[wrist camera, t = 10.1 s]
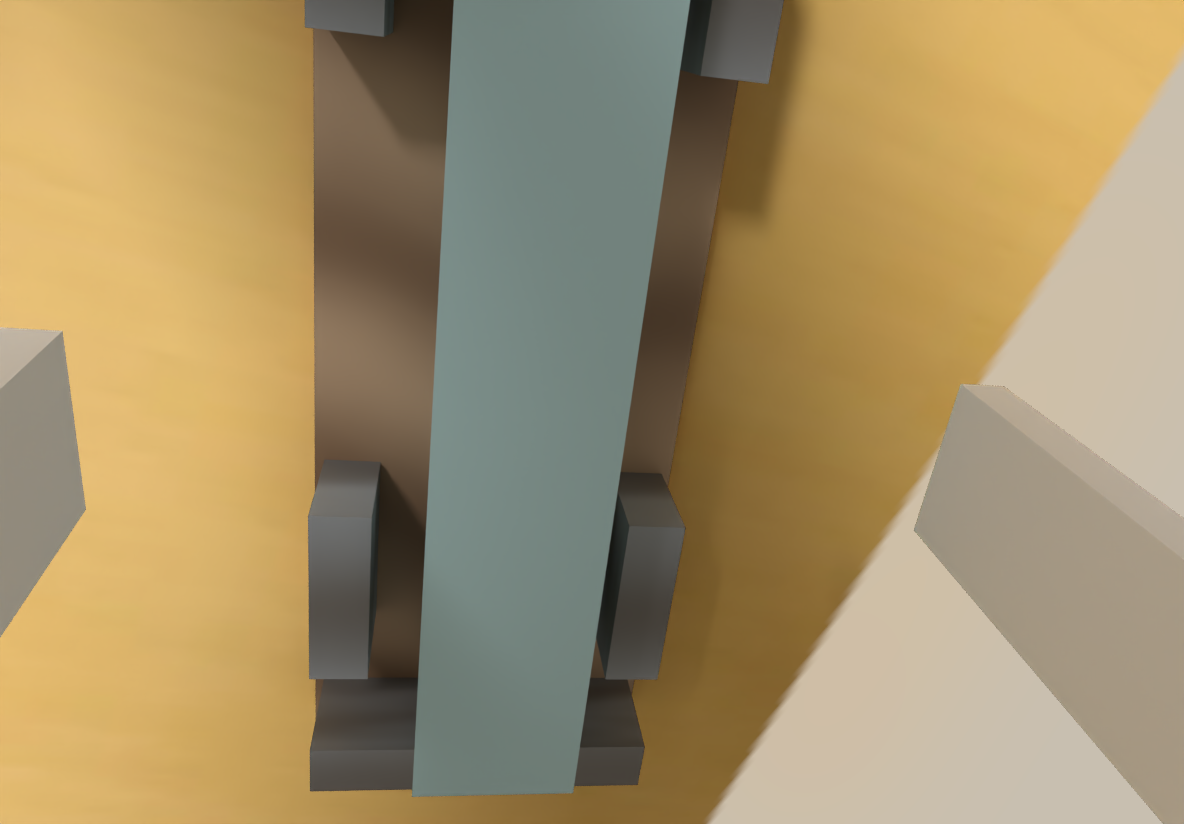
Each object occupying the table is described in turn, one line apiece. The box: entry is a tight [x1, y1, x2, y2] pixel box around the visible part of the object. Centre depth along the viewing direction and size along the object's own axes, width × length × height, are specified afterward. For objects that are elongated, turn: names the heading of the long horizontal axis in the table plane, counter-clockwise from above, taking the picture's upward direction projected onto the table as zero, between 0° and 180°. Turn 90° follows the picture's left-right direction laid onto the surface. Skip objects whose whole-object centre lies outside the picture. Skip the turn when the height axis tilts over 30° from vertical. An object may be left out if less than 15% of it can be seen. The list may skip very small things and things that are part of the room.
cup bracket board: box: [305, 0, 784, 791], centre depth 22 cm, size 30×10×4 cm, turn 173°
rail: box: [412, 0, 690, 797], centre depth 21 cm, size 22×4×6 cm, turn 173°
